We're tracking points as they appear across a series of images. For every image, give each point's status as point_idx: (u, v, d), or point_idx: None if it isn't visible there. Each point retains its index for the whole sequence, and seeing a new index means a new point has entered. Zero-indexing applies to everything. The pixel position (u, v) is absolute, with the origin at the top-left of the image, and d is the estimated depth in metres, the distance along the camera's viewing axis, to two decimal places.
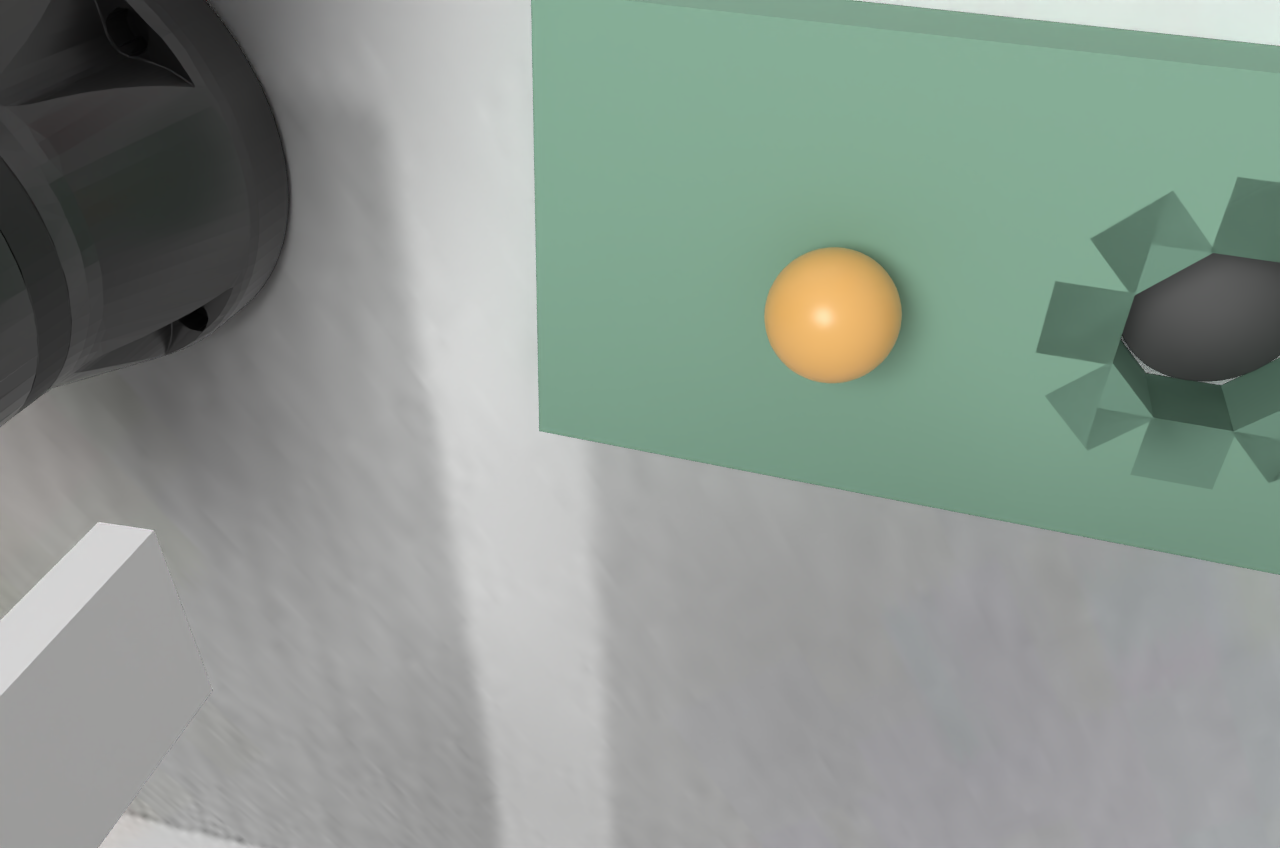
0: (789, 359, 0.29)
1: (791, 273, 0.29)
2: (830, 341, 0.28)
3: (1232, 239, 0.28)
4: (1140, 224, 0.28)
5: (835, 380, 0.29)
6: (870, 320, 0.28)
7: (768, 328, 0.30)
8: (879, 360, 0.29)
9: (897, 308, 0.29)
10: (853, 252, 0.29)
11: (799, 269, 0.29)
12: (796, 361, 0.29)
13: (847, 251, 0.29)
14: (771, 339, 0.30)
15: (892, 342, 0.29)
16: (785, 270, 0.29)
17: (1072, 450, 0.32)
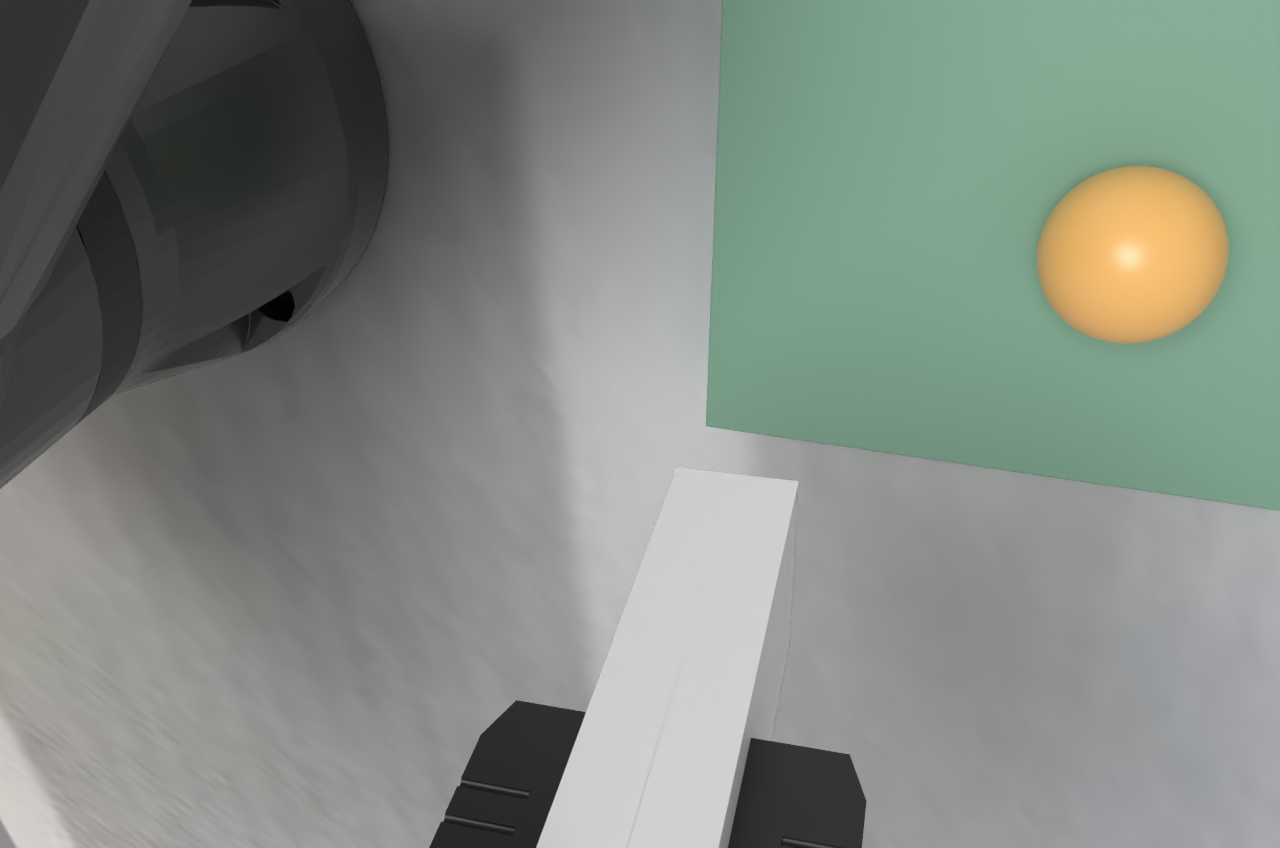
0: (1083, 313, 0.22)
1: (1085, 200, 0.22)
2: (1150, 285, 0.21)
3: None
4: None
5: (1143, 338, 0.23)
6: (1203, 255, 0.21)
7: (1050, 274, 0.23)
8: (1203, 309, 0.22)
9: (1228, 240, 0.22)
10: (1164, 169, 0.22)
11: (1097, 194, 0.22)
12: (1095, 314, 0.22)
13: (1156, 168, 0.22)
14: (1055, 289, 0.23)
15: (1220, 285, 0.22)
16: (1072, 198, 0.23)
17: None
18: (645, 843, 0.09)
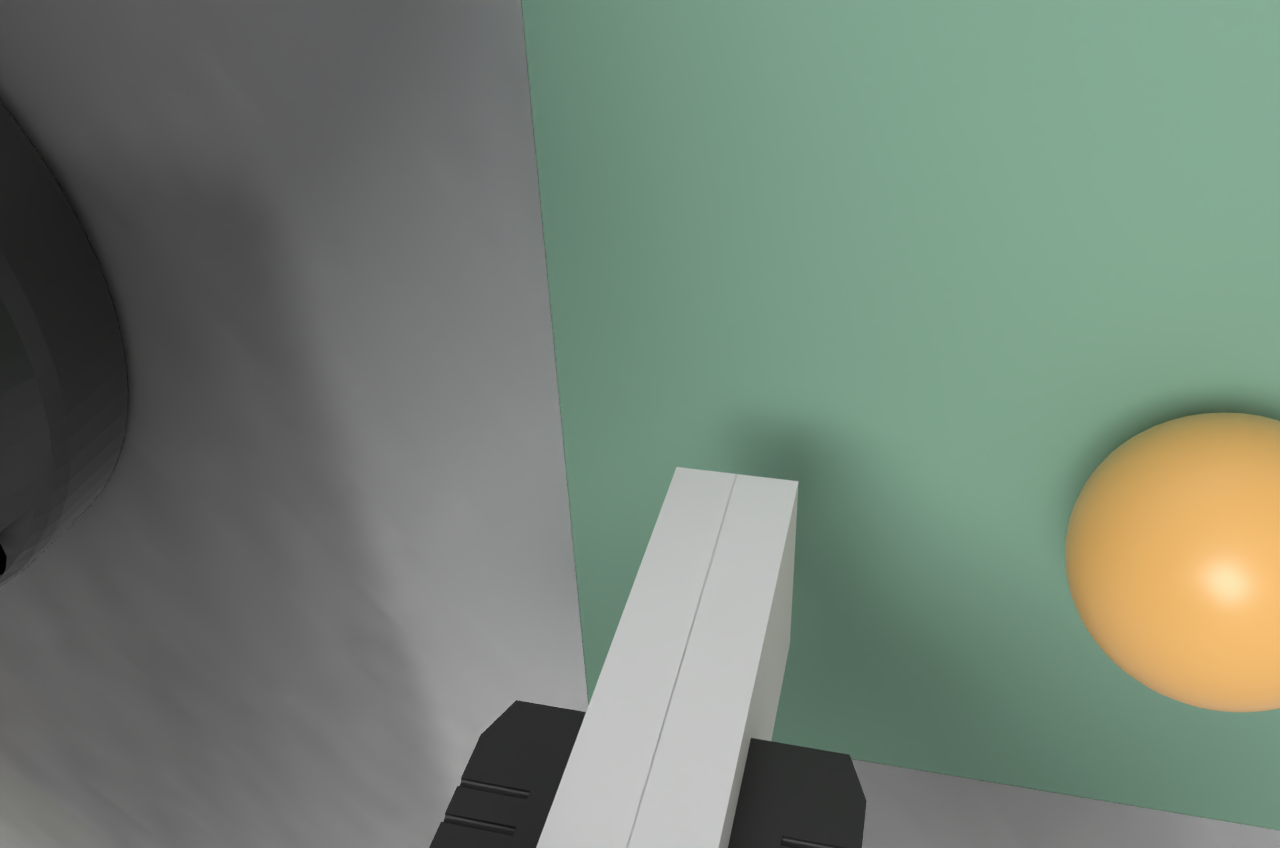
0: (1151, 676, 0.13)
1: (1147, 489, 0.13)
2: (1273, 654, 0.12)
3: None
4: None
5: (1254, 711, 0.13)
6: None
7: (1091, 604, 0.13)
8: None
9: None
10: None
11: (1168, 482, 0.13)
12: (1172, 682, 0.13)
13: (1268, 428, 0.13)
14: (1099, 627, 0.13)
15: None
16: (1123, 477, 0.13)
17: None
18: (645, 844, 0.09)
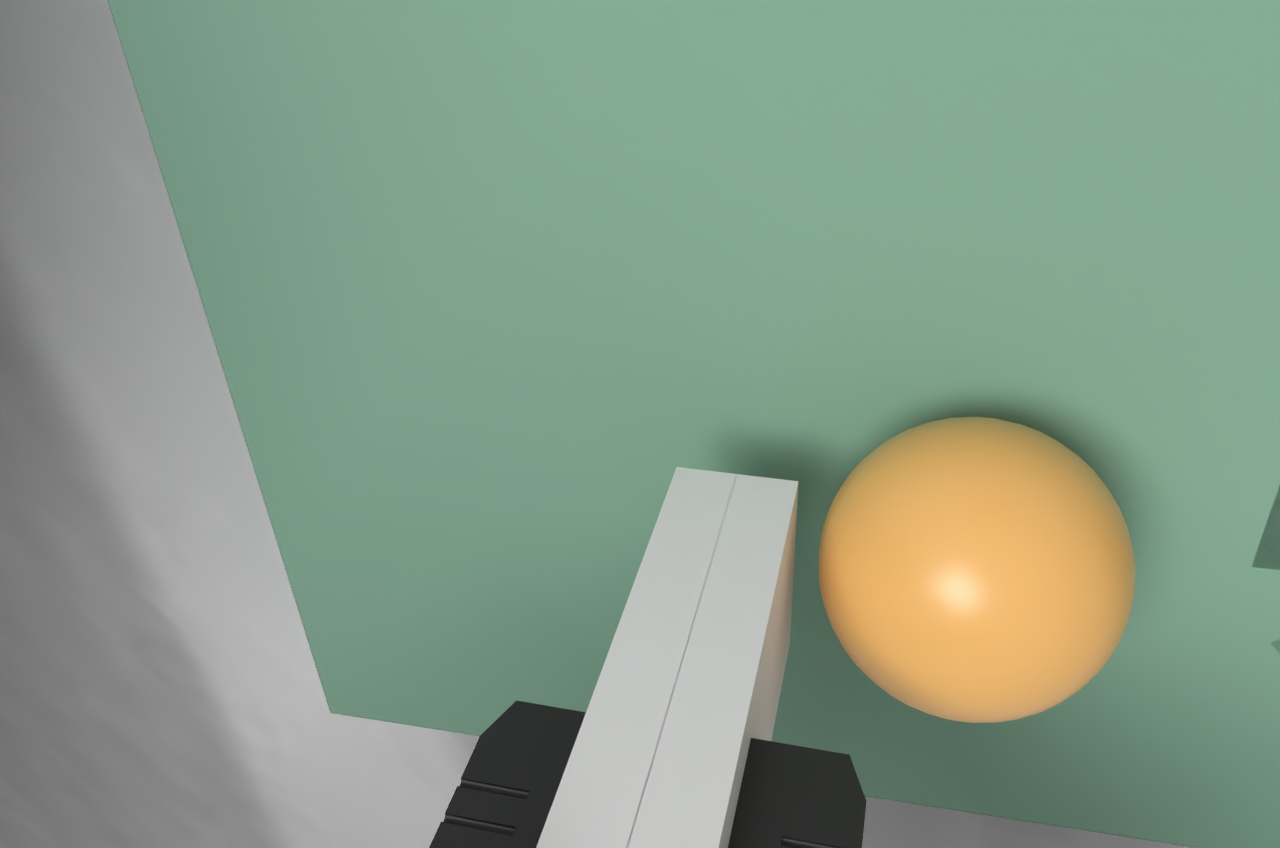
0: (1030, 712, 0.13)
1: (962, 556, 0.12)
2: (1122, 622, 0.12)
3: None
4: None
5: None
6: (1126, 528, 0.13)
7: (959, 692, 0.12)
8: None
9: None
10: (978, 429, 0.13)
11: (975, 537, 0.12)
12: (1052, 704, 0.13)
13: (973, 435, 0.13)
14: (971, 706, 0.12)
15: None
16: (920, 558, 0.12)
17: None
18: (645, 844, 0.09)
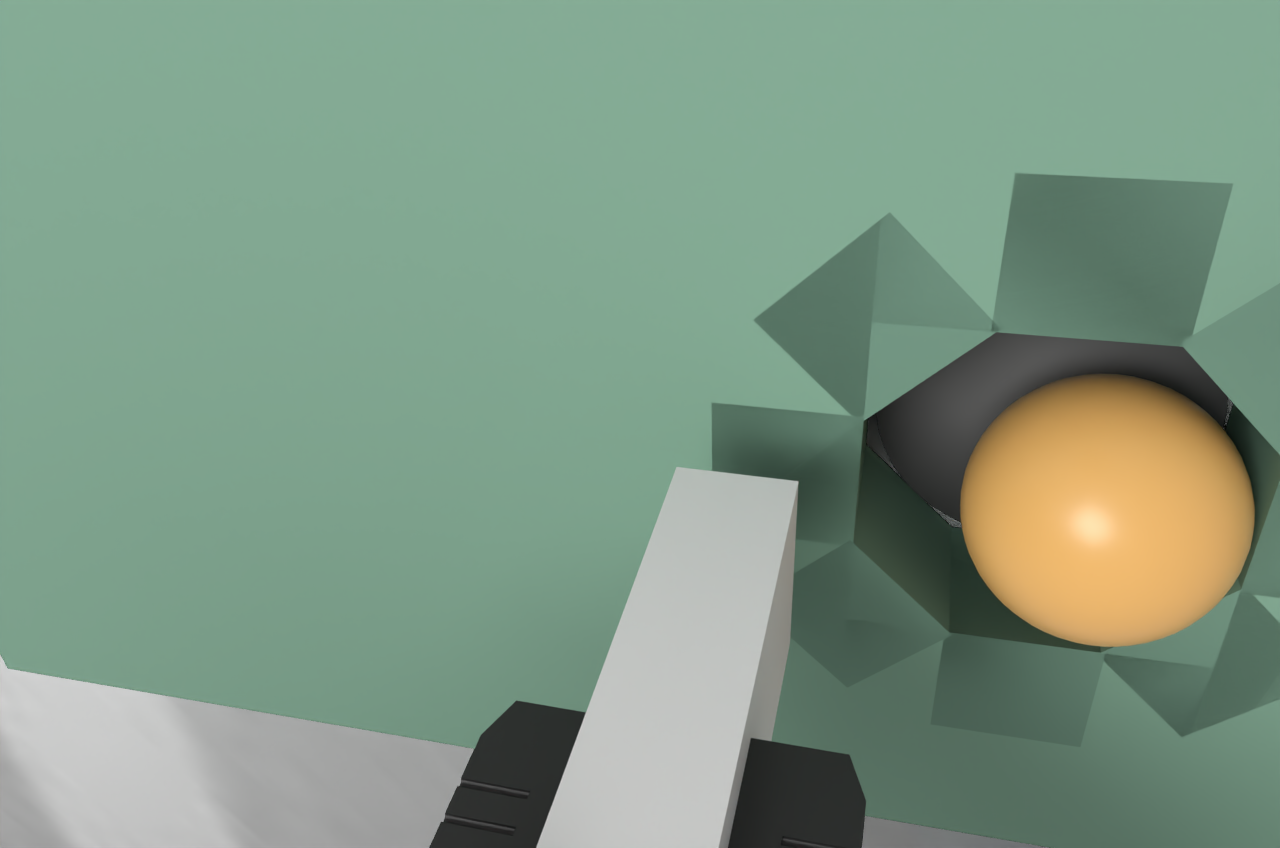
0: (1026, 610, 0.14)
1: (1019, 438, 0.14)
2: (1123, 582, 0.13)
3: (1029, 303, 0.13)
4: (841, 285, 0.14)
5: (1124, 645, 0.14)
6: (1207, 534, 0.13)
7: (975, 546, 0.15)
8: (1217, 603, 0.14)
9: (1251, 496, 0.14)
10: (1144, 385, 0.14)
11: (1036, 431, 0.14)
12: (1043, 614, 0.14)
13: (1131, 384, 0.14)
14: (983, 567, 0.15)
15: (1243, 565, 0.14)
16: (1002, 429, 0.15)
17: (821, 687, 0.18)
18: (645, 843, 0.09)
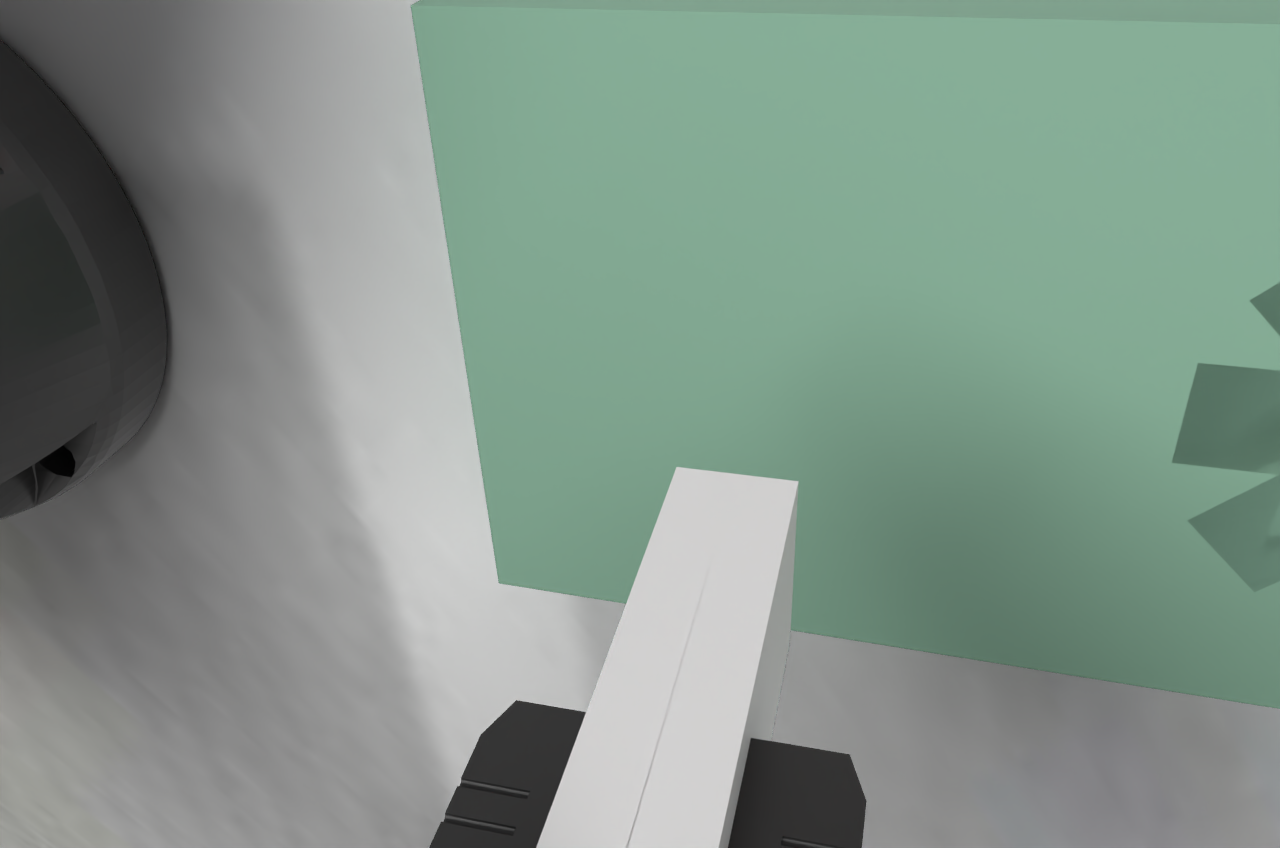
0: None
1: None
2: None
3: None
4: None
5: None
6: None
7: None
8: None
9: None
10: None
11: None
12: None
13: None
14: None
15: None
16: None
17: (1231, 592, 0.23)
18: (645, 843, 0.09)
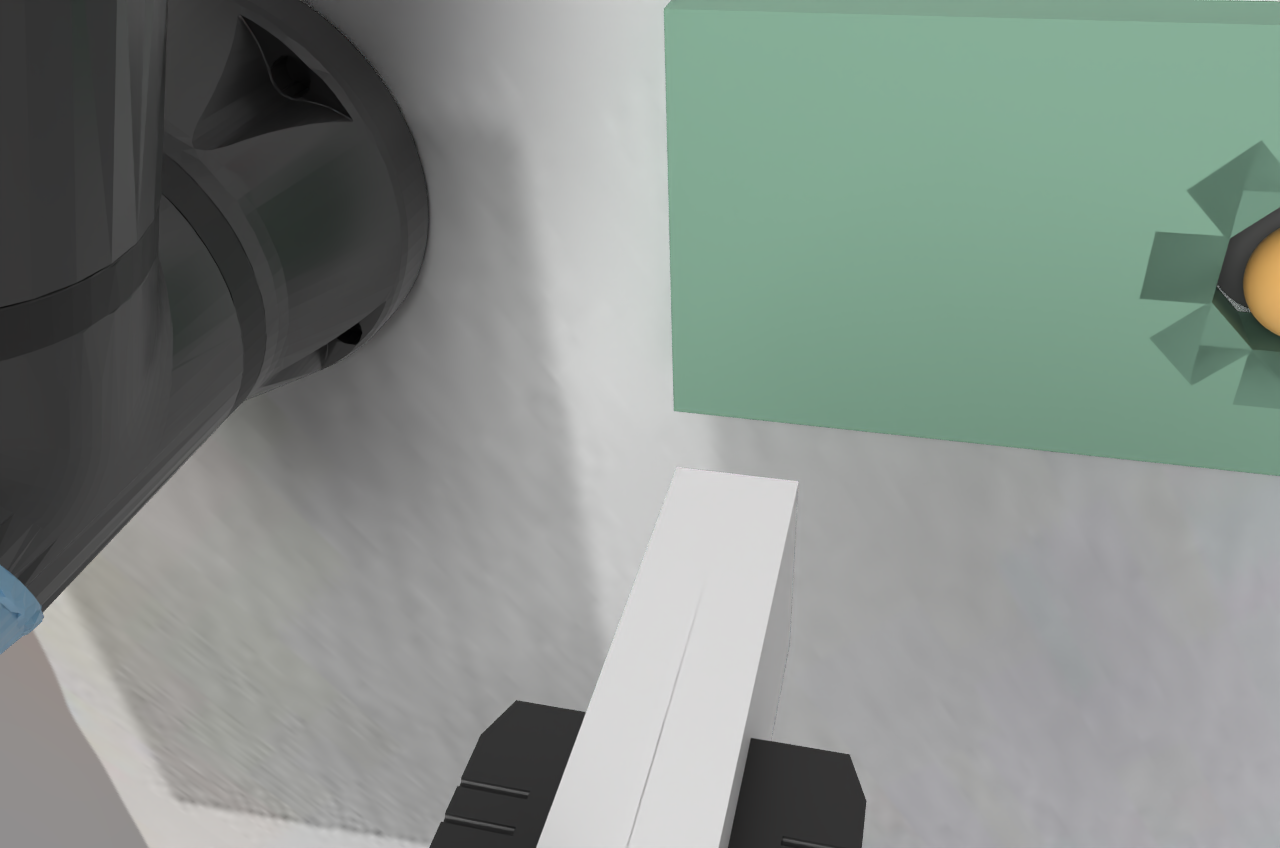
0: (1265, 314, 0.33)
1: (1277, 237, 0.32)
2: None
3: None
4: (1232, 173, 0.31)
5: None
6: None
7: (1247, 286, 0.33)
8: None
9: None
10: None
11: None
12: (1273, 315, 0.32)
13: None
14: (1249, 296, 0.33)
15: None
16: (1270, 235, 0.33)
17: (1177, 386, 0.35)
18: (645, 844, 0.09)
